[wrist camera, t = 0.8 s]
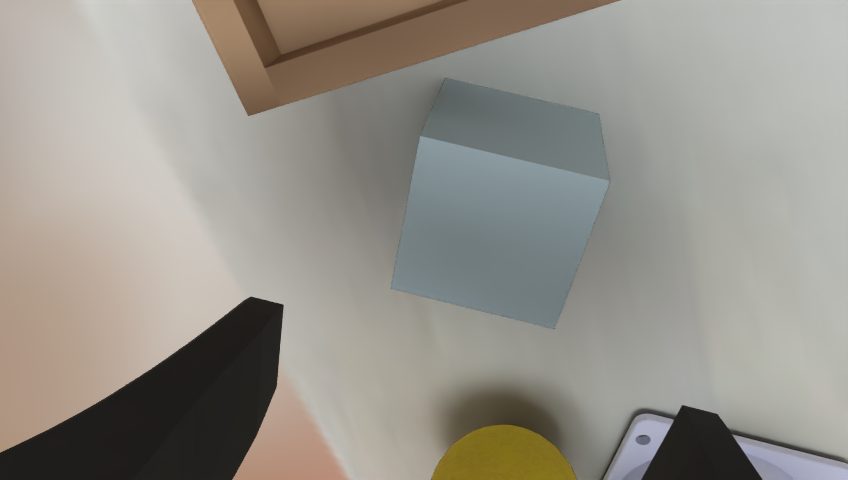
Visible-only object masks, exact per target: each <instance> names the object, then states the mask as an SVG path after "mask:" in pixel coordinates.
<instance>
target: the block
mask: <svg viewBox="0 0 848 480" xmlns="http://www.w3.org/2000/svg"><path fill="white" fill-rule="evenodd" d="M609 183H610V177H609V171H608V165H607V159H606V154H605V148H604V142H603V136H602V130H601V124H600V118H599V114H597V113H593V112H589V111H585V110H580V109H576V108H572V107H567V106H563V105H559V104H555V103H550V102H546V101H542V100H537V99H533V98H529V97H525V96H520V95H516V94H512V93H508V92H503V91H499V90H495V89H490V88H486V87H482V86H478V85H473V84H469V83H465V82H460V81H456V80H452V79H448V78H445V80H444V83H443V85H442V87H441V89H440V92H439V94H438V96H437V98H436V101H435V103H434V105H433V107H432V110H431V112H430V114H429V116H428V119H427V121H426V123H425V125H424V128H423V130H422V132H421V134H420V138H419V143H418V148H417V153H416V159H415V164H414V169H413V174H412V179H411V185H410V190H409V195H408V200H407V205H406V211H405V216H404V221H403V226H402V231H401V237H400V242H399V247H398V252H397V257H396V263H395V268H394V273H393V278H392V283H391V289H395V290H399V291H403V292H407V293H411V294H415V295H419V296H423V297H427V298H431V299H435V300H439V301H443V302H447V303H451V304H455V305H459V306H463V307H467V308H471V309H475V310H479V311H483V312H487V313H491V314H495V315H499V316H503V317H507V318H511V319H515V320H519V321H523V322H527V323H531V324H536V325H540V326H544V327H548V328H552V329H555V327H556V324H557V322H558V319H559V316H560V314H561V311H562V308H563V306H564V303H565V300H566V298H567V295H568V292H569V290H570V287H571V284H572V282H573V279H574V276H575V274H576V271H577V268H578V266H579V263H580V260H581V258H582V255H583V252H584V250H585V247H586V244H587V242H588V239H589V236H590V234H591V231H592V228H593V226H594V223H595V220H596V218H597V215H598V212H599V210H600V207H601V204H602V202H603V199H604V196H605V194H606V191H607V188H608V186H609Z"/></svg>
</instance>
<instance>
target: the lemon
mask: <svg viewBox="0 0 848 480" xmlns="http://www.w3.org/2000/svg"><path fill="white" fill-rule="evenodd" d="M431 480H577V478H576V476H575V474H574V471H573V469H572V467H571V466H570V464H569V462H568V461H567V460H566V458H565V457H564V456H563V455H562V454H561V452H560V451H559V450H558V449H557V448H556V446H554V445H553V444H552V443H551V442H549V441H548V440H547V439H545V438H544V437H542V436H541V435H539V434H537V433H535V432H533V431H530V430H528V429H526V428H522V427H518V426H514V425H501V424H500V425H493V426H486V427H483V428H480V429H477V430H474V431H472V432H470V433H468V434H467V435H465V436H464V437H462V438H461V439H459V440H458V441H457V442H455V443H454V444H453V445H452V446H451V448H450V449H449V450H448V451H447V452H446V454H445V455H444V456H443V457H442V459H441V460H440V461H439V463H438V465H437V467H436V469H435V471H434V473H433V476H432V478H431Z"/></svg>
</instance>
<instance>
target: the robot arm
mask: <svg viewBox="0 0 848 480" xmlns="http://www.w3.org/2000/svg"><path fill="white" fill-rule="evenodd" d="M283 306H284V305H282V304H278V303H274V302H270V301H267V300H263V299H259V298H255V297H249V298H248V299H246V300H244V301H243V302H242V303H240V304H239V305H238V306H236V307H235V308H234V309H233V310H231V311H230V312H229V313H228V314H226V315H225V316H224V317H222V318H221V319H220V320H218V321H217V322H216V323H215V324H213V325H212V326H211V327H209V328H208V329H207V330H205V331H204V332H203V333H201V334H200V335H199V336H197V337H196V338H195V339H193V340H192V341H191V342H189V343H188V344H187V345H185V346H183V347H182V348H181V349H179V350H178V351H176V352H175V353H174V354H172V355H171V356H169V357H168V358H167V359H165V360H164V361H162V362H161V363H159V364H158V365H156V366H155V367H153V368H152V369H151V370H149V371H147V372H146V373H144V374H143V375H141V376H140V377H138V378H136V379H135V380H133V381H132V382H130V383H129V384H127V385H125V386H124V387H122V388H121V389H119V390H118V391H116V392H114V393H113V394H111V395H110V396H108V397H106V398H105V399H103V400H101V401H99V402H98V403H96V404H95V405H93V406H91V407H89V408H87V409H86V410H84V411H82V412H80V413H79V414H77V415H75V416H73V417H71V418H69V419H67V420H66V421H64V422H62V423H60V424H58V425H56V426H54V427H52V428H50V429H49V430H47V431H45V432H43V433H40V434H38V435H36V436H34V437H32V438H30V439H28V440H26V441H24V442H22V443H20V444H18V445H16V446H14V447H11V448H9V449H7V450H5V451H3V452H1V453H0V480H232V479H233V477H234V476H235V474H236V472H237V470H238V468H239V467H240V465H241V463H242V461H243V459H244V457H245V456H246V454H247V452H248V450H249V448H250V447H251V445H252V443H253V441H254V439H255V437H256V435H257V433H258V431H259V428H260V426H261V424H262V421H263V419H264V417H265V414H266V412H267V409H268V407H269V404H270V402H271V399H272V397H273V394H274V392H275V389H276V386H277V376H278V365H279V353H280V341H281V329H282V318H283ZM639 435H647V436H644V437H639ZM603 480H848V464H847V463H843V462H839V461H835V460H831V459H828V458H824V457H820V456H816V455H812V454H808V453H804V452H800V451H796V450H792V449H788V448H784V447H780V446H776V445H772V444H768V443H764V442H760V441H756V440H752V439H748V438H744V437H740V436H736V435H733V434H731V432H730V431H729V430H728V428H727V427H726V425H725V424H724V422H723V421H722V420H721V418H720V417H719V416H718V414H715V413H711V412H707V411H703V410H699V409H695V408H691V407H688V406H684V405H682V407H681V409H680V410H679V412H678V414H677V416H676V418H675V420H673V419H669V418H665V417H661V416H657V415H653V414H641V415H639V416H637V417H635V419H634V420H633V422H632V424H631V426H630V428H629V430H628V431H627V433H626V435H625V437H624V439H623V441H622V443H621V445H620V447H619V449H618V451H617V453H616V455H615V457H614V459H613V461H612V463H611V465H610V467H609V469H608V471H607V473H606V475H605V477H604V479H603Z"/></svg>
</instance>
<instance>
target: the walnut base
mask: <svg viewBox="0 0 848 480" xmlns="http://www.w3.org/2000/svg"><path fill="white" fill-rule="evenodd" d="M192 1H193V3H194V6H195V8H196V10H197V12H198V14H199V16H200V18H201V20H202V22H203V24H204V26H205V28H206V30H207V32H208V34H209V36H210V38H211V40H212V42H213V45H214V47H215V49H216V51H217V53H218V55H219V57H220V59H221V61H222V63H223V65H224V67H225V69H226V71H227V73H228V75H229V77H230V79H231V81H232V83H233V86H234V88H235V90H236V92H237V94H238V96H239V98H240V100H241V102H242V104H243V106H244V108H245V110H246V112H247V114H248V116H250V115H253V114H257V113H260V112H263V111H266V110H269V109H273V108H276V107H279V106H282V105H285V104H289V103H292V102H295V101H298V100H301V99H305V98H308V97H311V96H314V95H318V94H321V93H324V92H327V91H330V90H334V89H337V88H340V87H343V86H346V85H350V84H353V83H356V82H359V81H363V80H366V79H369V78H372V77H375V76H379V75H382V74H385V73H388V72H391V71H395V70H398V69H401V68H404V67H408V66H411V65H414V64H417V63H420V62H424V61H427V60H430V59H433V58H436V57H440V56H443V55H446V54H449V53H453V52H456V51H459V50H462V49H465V48H469V47H472V46H475V45H478V44H481V43H485V42H488V41H491V40H494V39H497V38H501V37H504V36H507V35H510V34H514V33H517V32H520V31H523V30H526V29H530V28H533V27H536V26H539V25H542V24H546V23H549V22H552V21H555V20H559V19H562V18H565V17H568V16H571V15H575V14H578V13H581V12H584V11H587V10H591V9H594V8H597V7H600V6H604V5H607V4H610V3H613V2H616V1H620V0H192Z"/></svg>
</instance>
